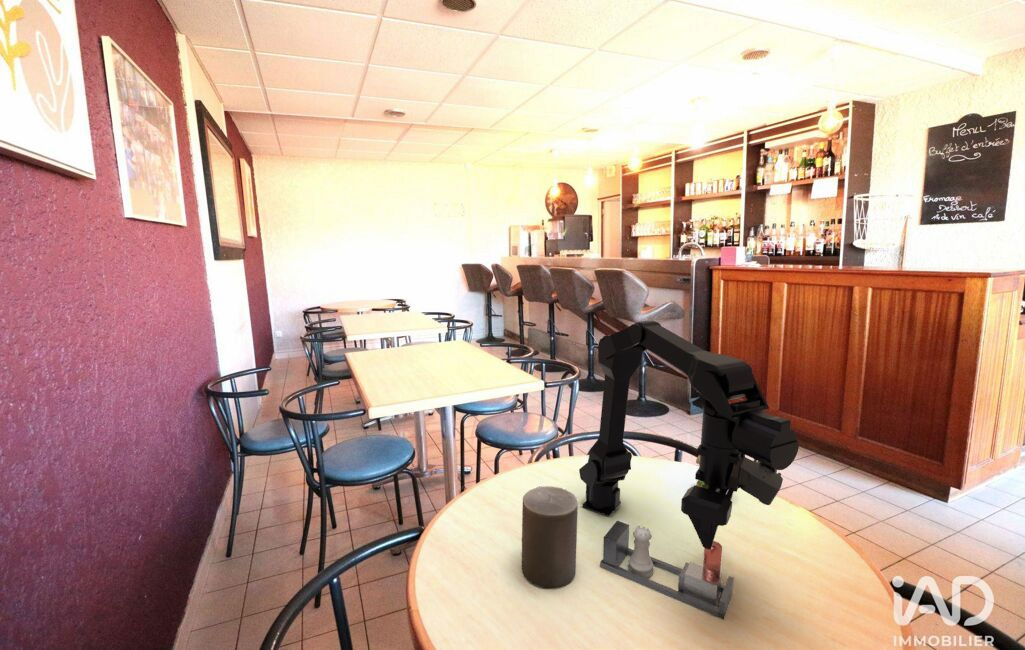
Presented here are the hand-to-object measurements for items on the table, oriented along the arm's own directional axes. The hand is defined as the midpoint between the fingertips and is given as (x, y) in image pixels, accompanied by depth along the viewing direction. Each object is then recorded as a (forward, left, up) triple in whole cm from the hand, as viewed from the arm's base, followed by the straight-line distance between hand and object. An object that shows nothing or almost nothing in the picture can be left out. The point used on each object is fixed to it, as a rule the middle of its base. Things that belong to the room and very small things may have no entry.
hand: (714, 532), depth 75 cm
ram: (-1, 0, -12) cm, 12 cm away
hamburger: (-7, +33, -12) cm, 36 cm away
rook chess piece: (-12, 0, -12) cm, 17 cm away
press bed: (-8, 0, -12) cm, 14 cm away
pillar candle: (-25, -9, -12) cm, 29 cm away
